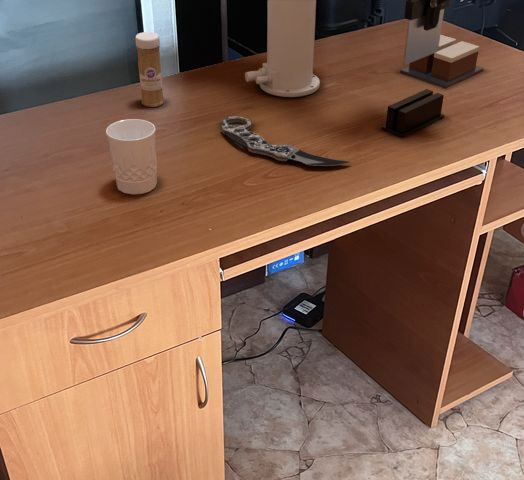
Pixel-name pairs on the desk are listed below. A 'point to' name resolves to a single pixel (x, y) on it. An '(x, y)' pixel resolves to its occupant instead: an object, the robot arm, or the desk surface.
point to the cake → (446, 63)
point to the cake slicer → (421, 31)
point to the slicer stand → (414, 113)
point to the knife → (270, 145)
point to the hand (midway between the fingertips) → (424, 26)
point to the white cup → (133, 155)
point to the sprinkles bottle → (150, 68)
